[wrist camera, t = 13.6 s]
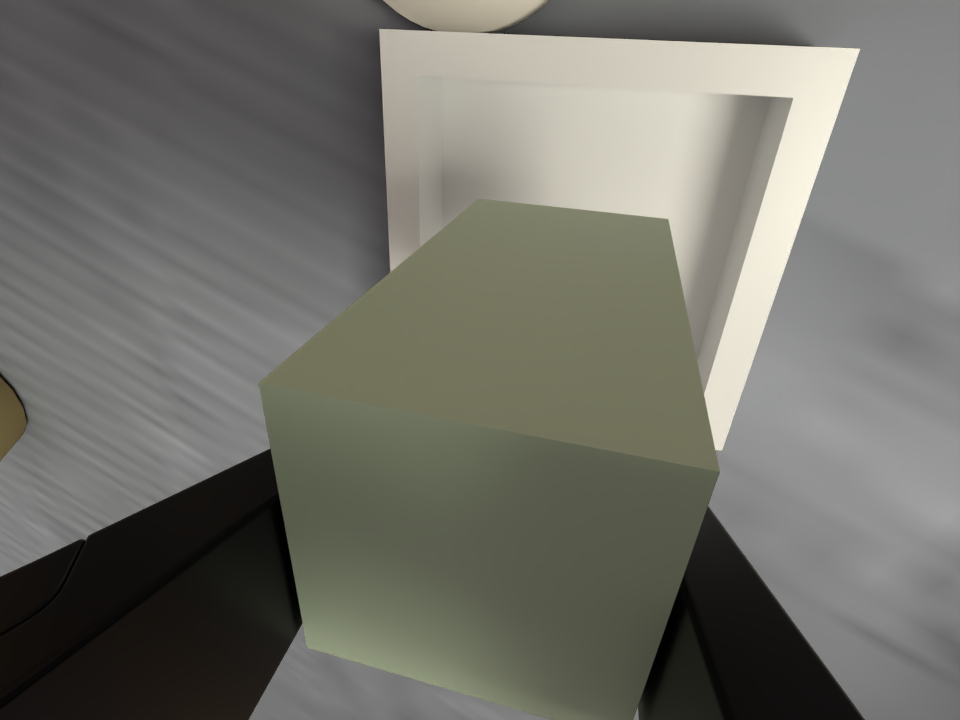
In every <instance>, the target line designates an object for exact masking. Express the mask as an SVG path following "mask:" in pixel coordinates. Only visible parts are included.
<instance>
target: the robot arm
mask: <svg viewBox="0 0 960 720" xmlns="http://www.w3.org/2000/svg"><path fill="white" fill-rule="evenodd" d="M302 623H303V622H302V617H301V611H300V606H299V600H298V595H297V590H296V584H295V579H294V573H293V568H292V562H291V557H290V552H289V546H288V541H287V535H286V530H285V524H284V519H283V514H282V508H281V503H280V497H279V492H278V486H277V481H276V476H275V470H274V465H273V459H272V454H271V448H270V449H268V450H266V451H264V452H262V453H260V454H258V455H256V456H254V457H252V458H250V459H247V460H245V461H243V462H241V463H239V464H237V465H235V466H233V467H231V468H229V469H227V470H224V471H222V472H220V473H218V474H216V475H214V476H212V477H210V478H208V479H206V480H204V481H201V482H199V483H197V484H195V485H193V486H191V487H189V488H187V489H185V490H183V491H181V492H179V493H176V494H174V495H172V496H170V497H168V498H166V499H164V500H162V501H160V502H158V503H156V504H153V505H151V506H149V507H147V508H145V509H143V510H141V511H139V512H137V513H135V514H132V515H130V516H128V517H126V518H124V519H122V520H120V521H118V522H116V523H114V524H112V525H109V526H107V527H105V528H103V529H101V530H99V531H97V532H95V533H93V534H91V535H89V536H88V537H87V539H86V540H83V539H80V540H78V541H76V542H74V543H72V544H70V545H67V546H65V547H63V548H61V549H59V550H57V551H55V552H53V553H51V554H49V555H47V556H44V557H42V558H40V559H38V560H36V561H34V562H31V563H29V564H27V565H25V566H23V567H21V568H18V569H16V570H14V571H12V572H10V573H8V574H5V575H3V576H1V577H0V720H249V718H250V716H251V714H252V712H253V711H254V709H255V707H256V705H257V704H258V702H259V700H260V698H261V696H262V695H263V693H264V691H265V689H266V687H267V686H268V684H269V682H270V680H271V679H272V677H273V675H274V673H275V671H276V670H277V668H278V666H279V664H280V662H281V661H282V659H283V657H284V655H285V654H286V652H287V650H288V648H289V646H290V645H291V643H292V641H293V639H294V638H295V636H296V634H297V632H298V630H299V629H300V627H301V625H302ZM638 712H639V720H865V719H864V718H863V716H862V715H861V714H860V712H859V711H858V709H857V708H856V707H855V705H854V704H853V703H852V701H851V700H850V699H849V697H848V696H847V694H846V693H845V692H844V690H843V689H842V688H841V686H840V685H839V684H838V682H837V681H836V680H835V678H834V677H833V675H832V674H831V673H830V671H829V670H828V669H827V667H826V666H825V665H824V663H823V662H822V660H821V659H820V658H819V656H818V655H817V654H816V652H815V651H814V650H813V648H812V647H811V645H810V644H809V643H808V641H807V640H806V639H805V637H804V636H803V635H802V633H801V632H800V630H799V629H798V628H797V626H796V625H795V624H794V622H793V621H792V620H791V618H790V617H789V615H788V614H787V613H786V611H785V610H784V609H783V607H782V606H781V605H780V603H779V602H778V600H777V599H776V598H775V596H774V595H773V594H772V592H771V591H770V590H769V588H768V587H767V585H766V584H765V583H764V581H763V580H762V579H761V577H760V576H759V575H758V573H757V572H756V570H755V569H754V568H753V566H752V565H751V564H750V562H749V561H748V560H747V558H746V557H745V556H744V554H743V553H742V551H741V550H740V549H739V547H738V546H737V545H736V543H735V542H734V541H733V539H732V538H731V536H730V535H729V534H728V532H727V531H726V530H725V528H724V527H723V526H722V524H721V523H720V521H719V520H718V519H717V517H716V516H715V515H714V513H713V512H712V511H711V509H710V508H709V506H708V507H707V510H706V513H705V515H704V518H703V521H702V524H701V527H700V530H699V533H698V536H697V538H696V541H695V544H694V547H693V550H692V553H691V556H690V558H689V561H688V564H687V567H686V570H685V573H684V576H683V578H682V581H681V584H680V587H679V590H678V593H677V596H676V598H675V601H674V604H673V607H672V610H671V613H670V616H669V618H668V621H667V624H666V627H665V630H664V633H663V636H662V639H661V641H660V644H659V647H658V650H657V653H656V656H655V659H654V661H653V664H652V667H651V670H650V673H649V676H648V679H647V681H646V684H645V687H644V690H643V693H642V696H641V699H640V701H639V704H638Z"/></svg>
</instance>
